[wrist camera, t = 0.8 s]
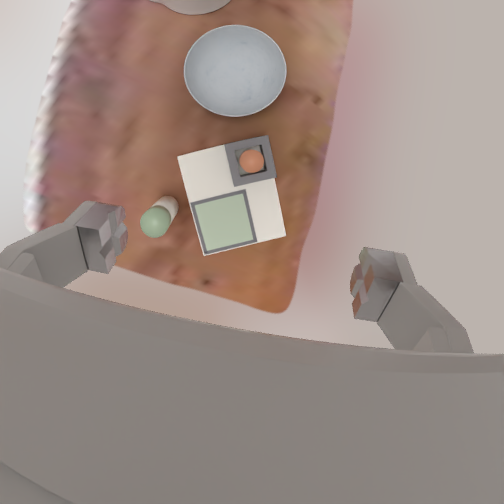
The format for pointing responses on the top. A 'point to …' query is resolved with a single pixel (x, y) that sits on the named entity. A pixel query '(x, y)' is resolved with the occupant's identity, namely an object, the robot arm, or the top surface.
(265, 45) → the chinaware
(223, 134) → the top surface
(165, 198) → the marker
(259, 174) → the white board
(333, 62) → the top surface
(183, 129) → the top surface
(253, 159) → the button
